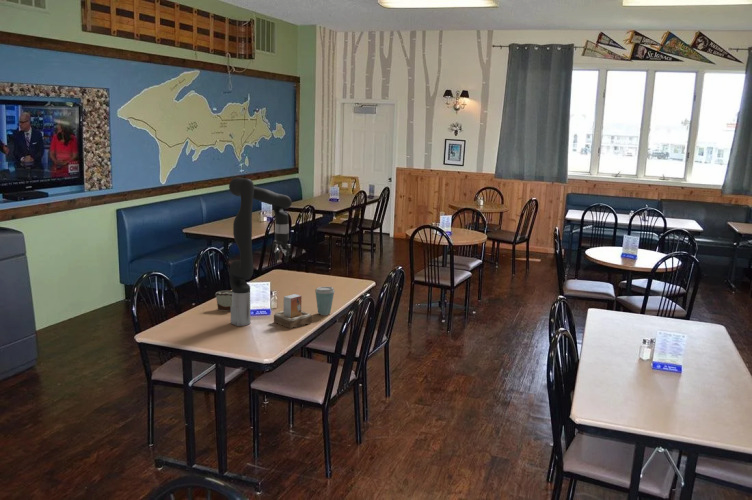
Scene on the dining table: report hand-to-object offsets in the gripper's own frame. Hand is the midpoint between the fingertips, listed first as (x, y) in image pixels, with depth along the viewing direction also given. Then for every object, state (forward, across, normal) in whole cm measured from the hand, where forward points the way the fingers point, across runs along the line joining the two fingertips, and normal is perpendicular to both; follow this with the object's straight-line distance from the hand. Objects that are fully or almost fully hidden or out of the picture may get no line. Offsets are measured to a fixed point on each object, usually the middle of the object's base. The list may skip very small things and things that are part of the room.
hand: (281, 260), depth 354 cm
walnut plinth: (+28, +22, -9) cm, 37 cm away
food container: (+28, -20, -22) cm, 41 cm away
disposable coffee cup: (+28, +20, +14) cm, 37 cm away
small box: (+24, +22, -9) cm, 34 cm away
